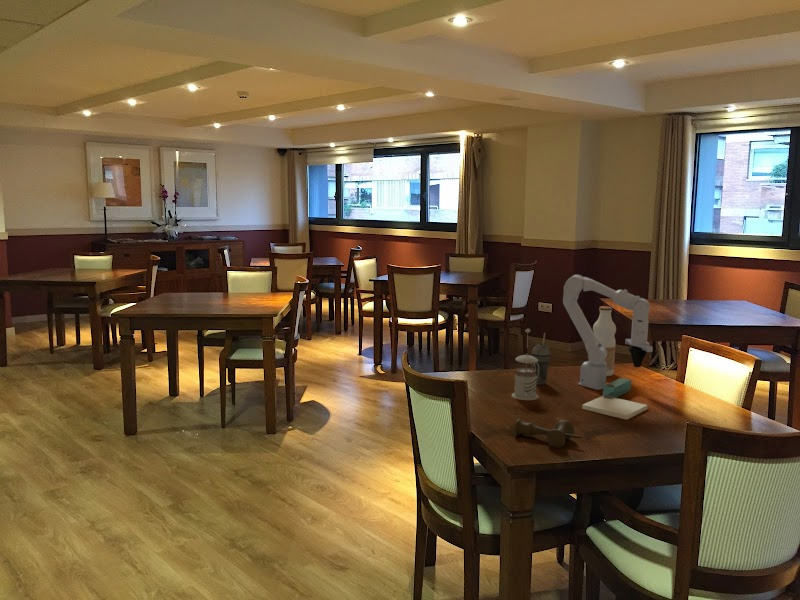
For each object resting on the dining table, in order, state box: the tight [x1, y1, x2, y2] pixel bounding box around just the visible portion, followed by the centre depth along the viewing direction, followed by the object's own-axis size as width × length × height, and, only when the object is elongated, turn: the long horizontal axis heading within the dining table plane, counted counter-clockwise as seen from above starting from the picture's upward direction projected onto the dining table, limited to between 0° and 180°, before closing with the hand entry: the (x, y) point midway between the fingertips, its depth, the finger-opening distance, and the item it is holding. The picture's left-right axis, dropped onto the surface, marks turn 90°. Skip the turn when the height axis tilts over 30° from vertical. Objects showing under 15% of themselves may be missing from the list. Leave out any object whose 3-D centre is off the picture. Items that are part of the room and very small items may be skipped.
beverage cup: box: [531, 332, 551, 386], centre depth 259 cm, size 7×7×20 cm
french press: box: [511, 328, 539, 401], centre depth 241 cm, size 10×12×25 cm
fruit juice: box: [592, 305, 617, 377], centre depth 274 cm, size 9×9×28 cm
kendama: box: [513, 418, 583, 449], centre depth 197 cm, size 6×10×20 cm
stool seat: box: [581, 395, 648, 420], centre depth 228 cm, size 16×16×2 cm
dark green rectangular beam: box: [602, 377, 632, 398], centre depth 245 cm, size 16×4×5 cm, turn 139°
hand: (637, 366), depth 250 cm, fingers closed
